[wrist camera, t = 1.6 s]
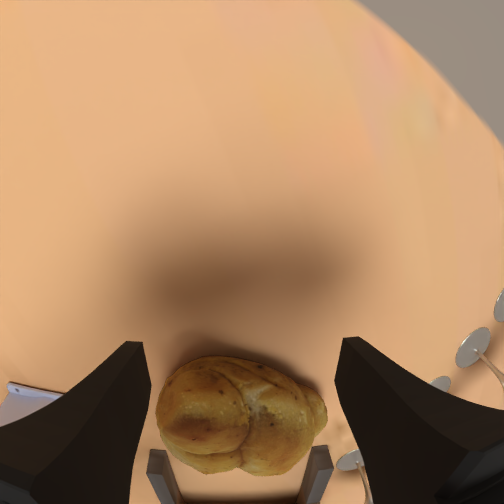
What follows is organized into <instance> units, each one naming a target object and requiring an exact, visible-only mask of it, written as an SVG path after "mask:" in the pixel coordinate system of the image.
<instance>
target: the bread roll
mask: <svg viewBox="0 0 504 504" xmlns="http://www.w3.org/2000/svg"><path fill="white" fill-rule="evenodd" d="M155 414H156V418H157V425H158V428H159V429H160V436H161V438H162V440H163V442H164V444H165V445H166V447H167V448H168V450H169V451H170V452H171V453H172V454H173V455H174V456H175V457H176V458H177V459H179V460H180V461H181V462H183V463H185V464H187V465H189V466H191V467H193V468H194V469H196V470H198V471H200V472H201V473H203V474H214V473H218V472H226V471H230V470H233V469H234V468H236V467H237V468H240V469H242V470H244V471H246V472H248V473H250V474H252V475H254V476H273V475H282V474H284V473H286V472H287V471H289V470H290V469H291V468H292V467H293V466H294V465H295V464H296V463H297V462H299V461H300V460H301V458H303V457H304V456H305V454H306V453H307V451H308V450H309V449H310V447H311V446H312V443H313V440H314V437H316V436H317V435H318V434H319V433H320V432H321V431H322V429H323V428H324V427H325V426H326V423H327V421H328V416H327V409H326V406H325V403H324V400H323V399H322V398H321V397H320V395H319V394H318V393H317V392H315V391H314V390H312V389H311V388H309V387H307V386H305V385H301V384H296V383H295V382H294V381H293V380H292V379H291V378H289V377H288V376H286V375H284V374H283V373H281V372H279V371H277V370H275V369H273V368H270V367H268V366H265V365H263V364H260V363H257V362H253V361H249V360H245V359H240V358H236V357H226V356H206V357H201V358H200V359H196V360H193V361H191V362H189V363H187V364H185V365H184V366H182V367H181V368H179V369H178V370H177V371H176V372H175V373H174V374H173V375H172V376H170V377H168V378H167V380H166V382H165V385H164V387H163V389H162V391H161V392H160V395H159V399H158V402H157V406H156V413H155Z"/></svg>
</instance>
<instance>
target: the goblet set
mask: <svg viewBox="0 0 504 504" xmlns="http://www.w3.org/2000/svg"><path fill="white" fill-rule="evenodd" d="M494 318H495V320H496V321H498V322H503V321H504V289H503V290H502V291H501V293H500V295H499V296H498V299H497V301H496V304H495V307H494ZM490 337H491V335H490V331H489V329H488V328H485V327H482V328H478V329H476V330H475V331H473V332H472V333H471V334H470V335H468V336H467V338H466V339H465V340H464V341H463V342H462V344H461V346H460V347H459V349H458V351H457V354H456V364H457V366H458V367H461V368H465V367H468V366H470V365H472V364H474V363H475V362H476V361H477V360H478V359H479V358H481V359H482V360H483V361H484V362H485V363H486V365H487V366H488V367H489V368H490V369H491V370H492V371H493V373H494V374H495V375H496V376H497V378H498V379H499V381H500V383H501V385H502V387H503V391H504V374H503V373H502V372H501V371H500V370H498V369H497V368H496V367H495V366H494V365H493V364H492V363H491V362H490V361H489V360H488V359H487V358H486V357H485V356H484V355H483V354H484V352H485V351H486V349H487V347H488V345H489V342H490ZM429 384H430V385H432V386H434V387H436V388H438V389H440V390H442V391H444V392H447V391H448V389H449V387H450V384H451V380H450V378H449V377H448V376H441V377H438V378H436V379H434V380H433V381H431V382H430V383H429ZM362 466H364V462H363V458H362V456H361V453H360V450H359V449H356V450H353V451H351V452H349V453H347V454H345V455H344V456H342V457H341V458H340V459H339V460H338V461H337V464H336V467H337V468H338V469H340V470H344V471H347V470H354V469H357V468H358V470H359V472H360V475H361V478H362V481H363V484H364V488H365V503H364V504H373V500H372V495H371V490H370V487H369V485H368V483H367V481H366V478H365V476H364V473H363V470H362V468H361V467H362Z"/></svg>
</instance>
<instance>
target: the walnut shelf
mask: <svg viewBox="0 0 504 504" xmlns="http://www.w3.org/2000/svg"><path fill="white" fill-rule="evenodd" d="M333 469H334V466H333V463H332V460H331V456H330V453H329V450H328V447H327V445H323V446H315V447H312V449H311V453H310V457H309V460H308V464H307V468H306V471H305V475H304V478H303V481H302V485H301V488H300V491H299V495H298V498H297V501H296V504H320V500H321V498H322V495H323V493H324V491H325V489H326V486H327V484H328V481H329V479H330V477H331V474H332V472H333ZM146 474H147V476H148V478H149V480H150V482H151V484H152V486H153V488H154V491H155V493H156V494H157V496H158V498H159V500H160V502H161V504H184V502H183V499H182V496H181V494H180V491H179V488H178V485H177V483H176V480H175V477H174V474H173V471H172V468H171V465H170V462H169V459H168V456H167V453H166V451H164V450H152V449H151V450H150V455H149V461H148V466H147V472H146Z"/></svg>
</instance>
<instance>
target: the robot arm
mask: <svg viewBox="0 0 504 504" xmlns="http://www.w3.org/2000/svg"><path fill="white" fill-rule="evenodd" d="M334 382H335V386H336V390H337V394H338V397H339V401H340V404H341V407H342V409H343V412H344V414H345V416H346V419H347V421H348V424H349V426H350V428H351V431H352V433H353V435H354V438H355V440H356V443H357V445H358V447H359V450H360V453H361V456H362V458H363V462H364V466H365V470H366V473H367V477H368V481H369V486H370V490H371V495H372V500H373V504H504V410H499V409H494V408H490V407H486V406H482V405H479V404H476V403H472V402H469V401H466V400H464V399H461V398H459V397H456V396H453V395H451V394H449V393H446V392H444V391H442V390H440V389H438V388H436V387H434V386H432V385H430V384H428V383H426V382H425V381H423V380H421V379H420V378H418V377H416V376H415V375H413V374H411V373H410V372H408V371H407V370H405V369H404V368H402V367H401V366H399V365H398V364H396V363H395V362H394V361H392V360H391V359H389V358H388V357H387V356H385V355H384V354H383V353H381V352H380V351H378V350H377V349H376V348H374V347H373V346H372V345H370V344H369V343H368V342H366V341H365V340H363V339H362V338H360V337H359V336H358V337H348V338H343V341H342V346H341V351H340V356H339V361H338V365H337V370H336V375H335V379H334ZM7 388H8V390H9V394H8V395H7V397H6V398H5V400H4V401H3V403H2V404H1V406H0V504H129V495H130V485H131V477H132V469H133V463H134V459H135V455H136V451H137V447H138V443H139V440H140V436H141V433H142V429H143V426H144V422H145V418H146V415H147V411H148V406H149V400H150V393H151V380H150V376H149V372H148V367H147V362H146V357H145V353H144V348H143V342H134V341H126V342H125V343H123V344H122V345H121V346H120V347H119V348H118V349H117V350H116V351H115V352H114V353H113V354H111V355H110V356H109V357H108V358H107V359H106V360H105V361H104V362H103V363H102V364H101V365H99V366H98V367H97V368H96V369H95V370H94V371H93V372H92V373H90V374H89V375H88V376H87V377H86V378H84V379H83V380H82V381H81V382H79V383H78V384H77V385H76V386H75V387H73V388H72V389H71V390H69V391H68V392H67V393H65V394H59V393H54V392H49V391H44V390H39V389H34V388H30V387H26V386H21V385H17V384H13V383H8V384H7Z"/></svg>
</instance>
